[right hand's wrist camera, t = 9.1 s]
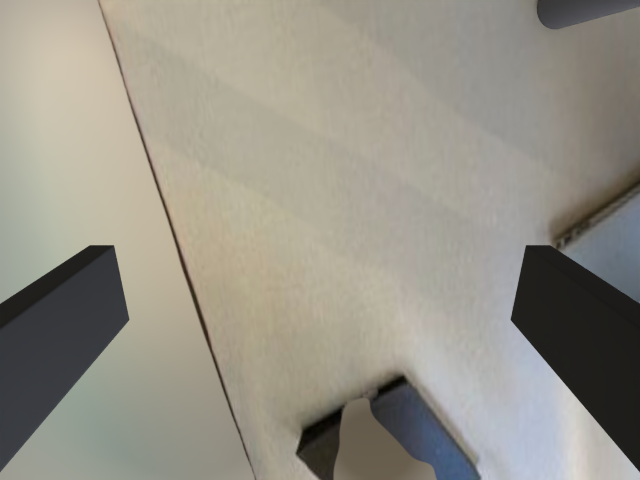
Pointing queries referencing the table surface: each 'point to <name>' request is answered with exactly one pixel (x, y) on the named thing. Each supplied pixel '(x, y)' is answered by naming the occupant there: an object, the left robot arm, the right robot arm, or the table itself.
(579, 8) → the bottle
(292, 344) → the table surface
